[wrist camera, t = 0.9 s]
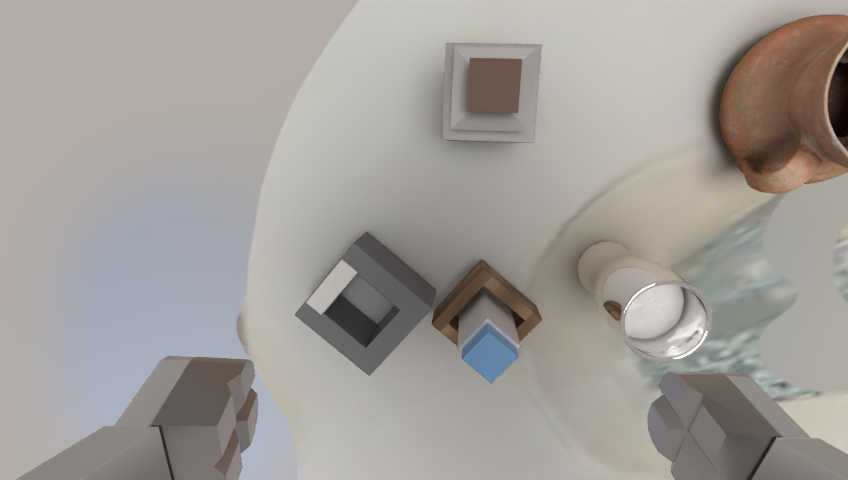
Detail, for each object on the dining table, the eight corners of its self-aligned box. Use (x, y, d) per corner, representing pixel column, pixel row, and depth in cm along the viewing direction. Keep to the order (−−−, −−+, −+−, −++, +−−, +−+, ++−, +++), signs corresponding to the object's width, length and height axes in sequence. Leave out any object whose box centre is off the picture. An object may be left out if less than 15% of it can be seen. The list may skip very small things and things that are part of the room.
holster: (536, 305, 50) (542, 319, 46) (487, 355, 51) (489, 372, 48) (481, 259, 49) (483, 269, 45) (434, 310, 51) (431, 324, 47)
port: (435, 289, 50) (431, 309, 44) (380, 350, 53) (368, 377, 46) (367, 231, 50) (353, 243, 44) (313, 295, 52) (293, 315, 46)
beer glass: (586, 309, 49) (637, 378, 35) (562, 252, 48) (603, 300, 34) (649, 283, 48) (729, 345, 33) (625, 225, 47) (696, 263, 32)
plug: (510, 307, 50) (523, 356, 38) (485, 331, 51) (491, 387, 39) (483, 284, 50) (488, 327, 38) (459, 309, 51) (457, 358, 39)
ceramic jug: (814, -22, 41) (985, -105, 27) (917, 91, 42) (1134, 67, 28) (655, 127, 45) (733, 121, 31) (752, 226, 46) (870, 263, 32)
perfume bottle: (514, 142, 46) (543, 142, 29) (449, 140, 47) (438, 138, 29) (519, 73, 45) (553, 28, 27) (452, 72, 45) (442, 27, 28)
